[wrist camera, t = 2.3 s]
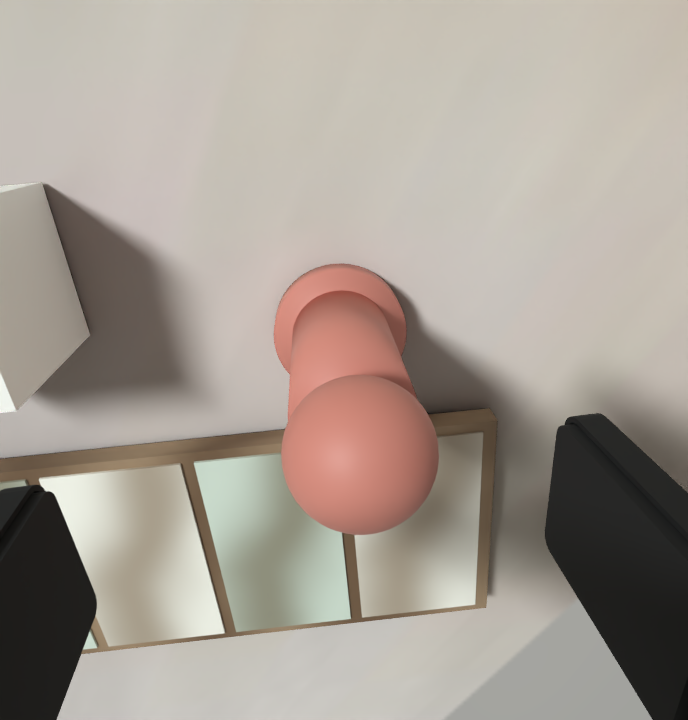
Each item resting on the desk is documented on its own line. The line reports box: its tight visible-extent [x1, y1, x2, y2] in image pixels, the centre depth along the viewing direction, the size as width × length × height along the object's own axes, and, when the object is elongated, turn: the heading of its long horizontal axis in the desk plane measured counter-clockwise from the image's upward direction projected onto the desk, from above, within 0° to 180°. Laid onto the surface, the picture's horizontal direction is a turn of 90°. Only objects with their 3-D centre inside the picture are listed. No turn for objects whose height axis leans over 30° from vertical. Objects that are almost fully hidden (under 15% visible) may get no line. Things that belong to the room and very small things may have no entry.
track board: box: [0, 408, 498, 654], centre depth 21 cm, size 23×10×1 cm, turn 94°
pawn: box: [274, 264, 439, 535], centre depth 14 cm, size 4×4×9 cm
